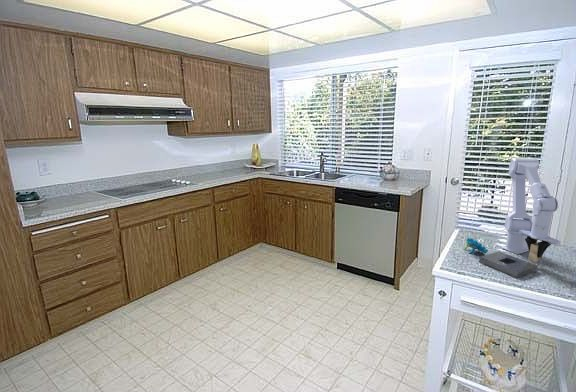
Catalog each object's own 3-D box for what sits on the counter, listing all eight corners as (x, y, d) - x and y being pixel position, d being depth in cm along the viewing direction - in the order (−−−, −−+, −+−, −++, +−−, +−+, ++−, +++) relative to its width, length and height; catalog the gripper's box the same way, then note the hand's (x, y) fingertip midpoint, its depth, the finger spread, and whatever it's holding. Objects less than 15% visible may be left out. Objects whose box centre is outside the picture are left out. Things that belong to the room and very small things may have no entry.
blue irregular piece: (493, 253, 143) (479, 239, 141) (484, 263, 143) (470, 249, 141) (475, 247, 154) (462, 234, 152) (467, 256, 154) (454, 243, 152)
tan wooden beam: (534, 257, 135) (537, 242, 133) (540, 259, 133) (543, 244, 131) (528, 259, 133) (531, 244, 132) (534, 261, 131) (537, 246, 129)
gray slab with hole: (498, 256, 143) (499, 251, 143) (536, 271, 129) (537, 265, 128) (479, 261, 138) (479, 256, 138) (516, 277, 124) (517, 272, 124)
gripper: (516, 221, 134) (511, 250, 138) (555, 232, 121) (549, 264, 125) (526, 219, 137) (521, 248, 140) (566, 229, 124) (559, 261, 127)
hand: (535, 255), depth 133 cm, fingers closed on tan wooden beam, 3 cm apart
